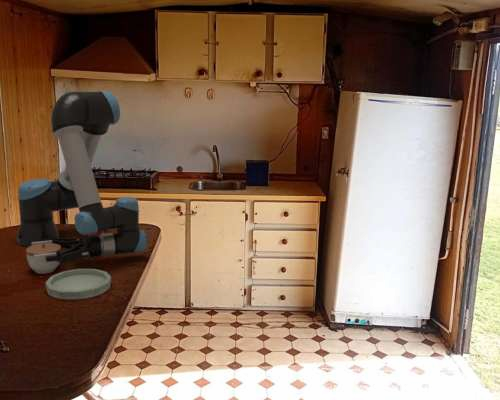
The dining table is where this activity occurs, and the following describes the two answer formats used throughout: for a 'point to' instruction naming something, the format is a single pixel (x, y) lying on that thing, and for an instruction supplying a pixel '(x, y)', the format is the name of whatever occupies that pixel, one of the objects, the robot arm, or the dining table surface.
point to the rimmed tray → (78, 284)
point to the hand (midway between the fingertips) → (32, 252)
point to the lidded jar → (42, 249)
